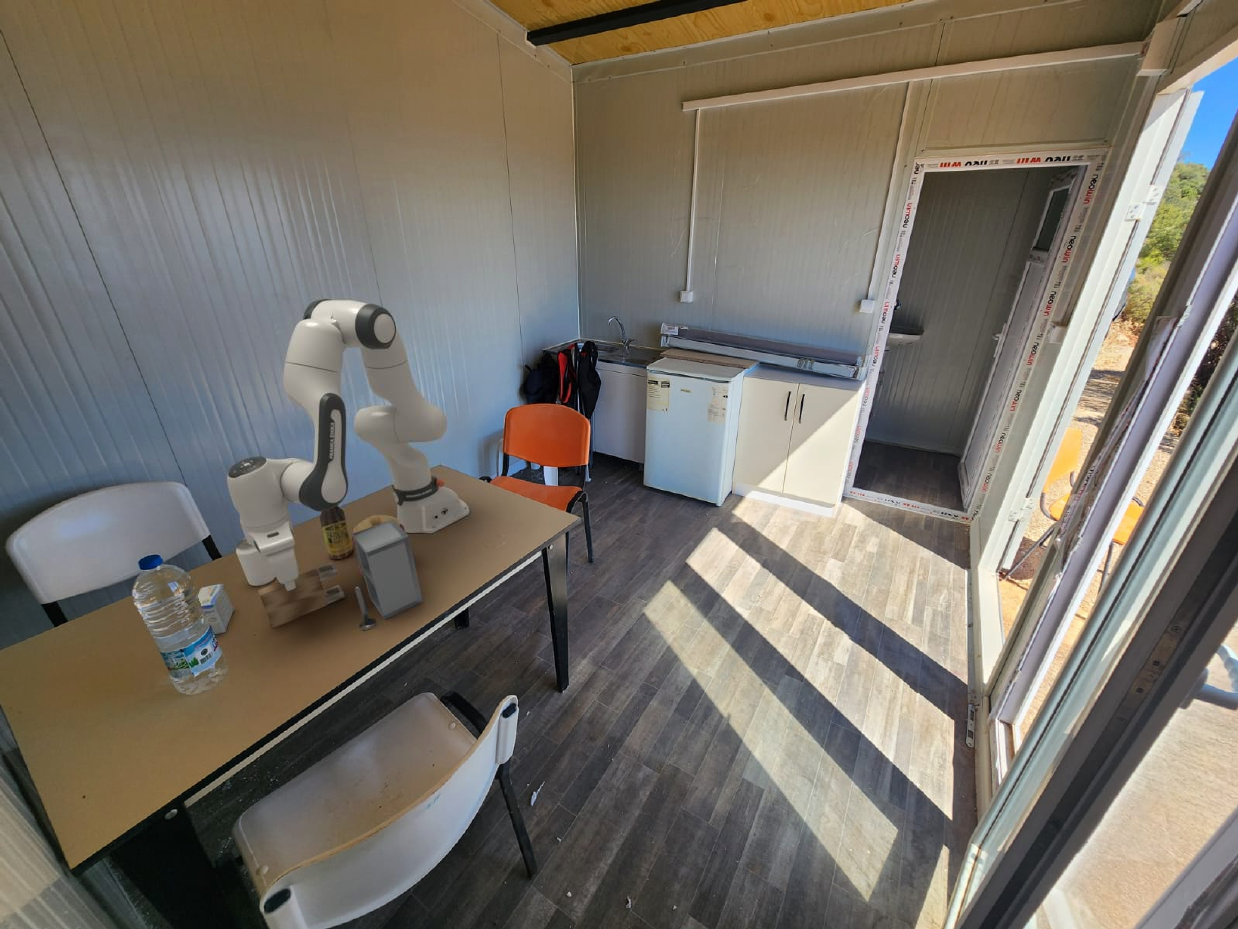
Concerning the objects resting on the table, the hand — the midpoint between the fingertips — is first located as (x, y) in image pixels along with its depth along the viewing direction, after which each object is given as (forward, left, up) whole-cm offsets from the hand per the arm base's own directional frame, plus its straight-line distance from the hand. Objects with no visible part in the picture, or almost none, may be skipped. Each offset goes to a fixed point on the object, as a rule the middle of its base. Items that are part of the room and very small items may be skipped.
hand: (286, 578), depth 115 cm
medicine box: (+15, -9, -12) cm, 21 cm away
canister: (-22, -3, -12) cm, 25 cm away
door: (-2, 0, -11) cm, 12 cm away
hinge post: (-11, +15, -11) cm, 22 cm away
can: (+4, -21, -12) cm, 25 cm away
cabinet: (-20, +11, -11) cm, 25 cm away
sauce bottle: (-15, -19, -12) cm, 27 cm away
